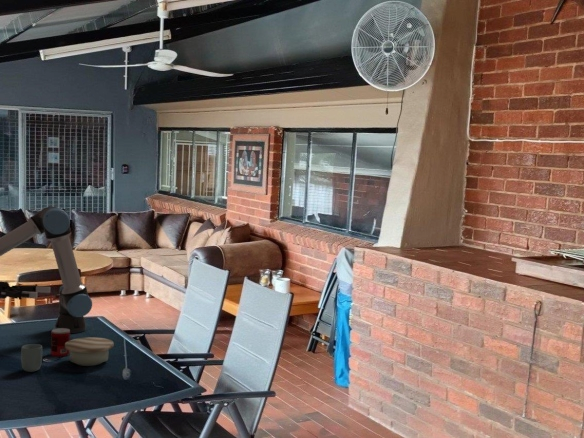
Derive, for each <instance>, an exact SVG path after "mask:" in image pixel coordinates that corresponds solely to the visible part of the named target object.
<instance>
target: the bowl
mask: <svg viewBox="0 0 584 438" xmlns="http://www.w3.org/2000/svg"><path fill="white" fill-rule="evenodd" d="M109 350H110V349H109ZM109 350H106V351H102V352H94V353H80V352H73V351H69V361H70V362H71V363H73V364H75V365H77V366H83V367H93V366H94V367H95V366H98V365H100V364H102V363H105V362H107V361H108V360H109Z"/></svg>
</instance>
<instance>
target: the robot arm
mask: <svg viewBox="0 0 584 438" xmlns="http://www.w3.org/2000/svg"><path fill="white" fill-rule="evenodd" d="M70 224H71V220H70V217H69V214H68V213H67V212H66V211H65V210H64V209H62V208H60V207H56V206H47V207H45V208H42V209H40V210H39V211H38V212H37V213H35V214H34V215H32V216H30V217H29V218H28V220H27V221H26V222H25V223H23V224H20V225H19V226H18V227H16V228H13V230H11V231H10V232H7V233H6V234H4V235H3V236H0V257H2V256H3V255H5V254H6V253H8V252H10V251H11V250H13V249H16V248H17V247H18V246H20V245H21V244H23V243H25V242H26V241H28V240H30V239H32V238H34V237H35V236H37V235H40V236H41V235H43V234H45V238H46V240H47V241H49V242H50V243H51V247H52V251H53V254H54V257H55V258H54V259H55V262H56V265H57V269H58V272H59V276H60V279H61V283H62V285H61V286H60V287H59V291H58V293H59V295H58V299H59V300H58V301H59V302H58V317H57V320H56V322H55V325H54V329H58V328H66V329H69V330H70V334H78V333H83V332H85V331H86V330H87V324H86V320H85V318H84V317H85V316H87V315H88V314H89V313H90V312H91V310H92V308H93V300H92V299H91V297H90V296H89V293H88V288H87V285H86V284H84V283H83V282H82V279H81V276H80V271H79V268H78V265H77V261H76V256H75V253H74V250H73V246H72V243H71V239H70V237H71V235H72V228H71V227H70ZM38 293H41V294H42V293H43V294H50V293H51V286H41V285H40V286H39V285H38V284H37V283H35V284H33V285H31V284H28V285H22V284H21V285H20V284H19V285H18V284H17V285H11V286H10V284H9V282H7V281H0V299H2V300H3V299H7V298H12V299H16V300H17V299H18V300H22V299H35V300H36V299H38Z"/></svg>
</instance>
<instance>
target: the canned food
mask: <svg viewBox="0 0 584 438" xmlns="http://www.w3.org/2000/svg"><path fill="white" fill-rule="evenodd" d="M50 336H51V338H50V339H51V340H50V354H51V356H52V357H55V358H61V357H62V358H63V357H67V356H69V355H70V351H69V350H67V349H66V348H65V343H66V342H68V341H70V340H71V333H70V330H69V329H66V328H58V329H55V328H53V329H52V330H51V333H50Z"/></svg>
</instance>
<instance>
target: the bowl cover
mask: <svg viewBox="0 0 584 438" xmlns="http://www.w3.org/2000/svg"><path fill="white" fill-rule="evenodd" d="M65 348H66V349H67V350H69V352H70V351H73V352H80V353H94V352H102V351H106V350H111V349H112V348H114V341H113V340H111V339H109V338H104V337H93V336H92V337H79V338H73V339H70V341H68V342H66V343H65Z"/></svg>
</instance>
